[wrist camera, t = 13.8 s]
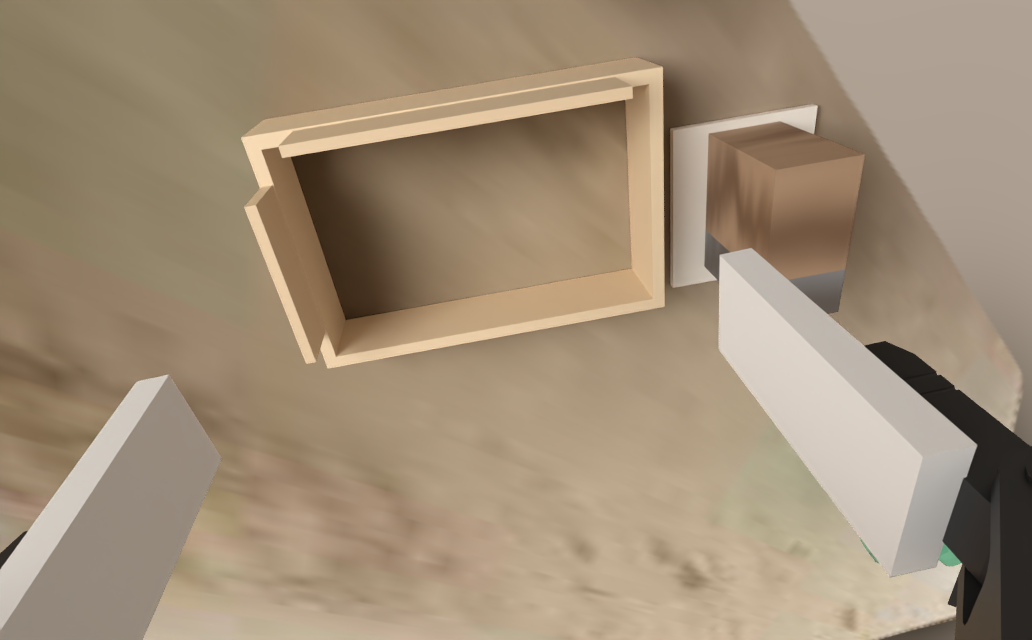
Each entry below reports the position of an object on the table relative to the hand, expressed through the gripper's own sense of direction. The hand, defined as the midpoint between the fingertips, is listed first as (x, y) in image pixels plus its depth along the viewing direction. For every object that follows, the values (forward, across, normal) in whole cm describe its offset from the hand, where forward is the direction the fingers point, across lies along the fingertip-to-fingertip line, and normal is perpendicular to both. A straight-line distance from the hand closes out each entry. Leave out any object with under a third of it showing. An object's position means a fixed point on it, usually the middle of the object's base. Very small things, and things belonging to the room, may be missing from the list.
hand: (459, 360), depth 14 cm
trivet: (+27, +20, -10) cm, 35 cm away
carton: (+27, +1, -6) cm, 28 cm away
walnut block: (+26, +20, -10) cm, 34 cm away
